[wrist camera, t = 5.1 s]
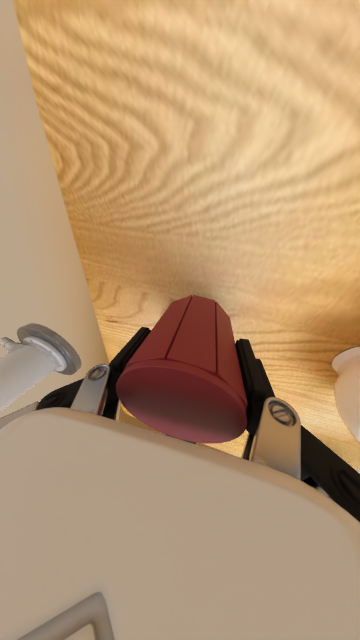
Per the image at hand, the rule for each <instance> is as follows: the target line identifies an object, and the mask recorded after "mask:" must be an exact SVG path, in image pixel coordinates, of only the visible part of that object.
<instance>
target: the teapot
mask: <svg viewBox="0 0 360 640" xmlns="http://www.w3.org/2000/svg"><path fill="white" fill-rule="evenodd" d="M332 368H333V370H334V371H335V372H336V373H337V374H338V378H337V381H336V384H335V388H334V397H335V403H336V407H337V410H338V413H339V415H340V417H341V419H342V421H343V423H344V424H345V426H346V427H347V429H348V430H349V432H350V433H351V434H352V435H353V437H354V438H355V439H356V440H357V441H358V442H359V444H360V347H355V348H352V349H349V350H346V351H344V352H342V353H340V354H339V355H337V356H336V357H335V358H334V360H333V361H332ZM357 471H358V472H359V473H360V469H357Z"/></svg>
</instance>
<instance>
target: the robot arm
mask: <svg viewBox="0 0 360 640" xmlns="http://www.w3.org/2000/svg"><path fill="white" fill-rule="evenodd" d="M150 332H151V330H149V328H146V327H141V328H140V330H139V331H138V332H137V333H136V334H135V335H134V336H133V337H132V339H131V340H130V341H129V342H128V343H127V344H126V345H125V346H124V348H123V349H122V350H121V351H120V352H119V353H118V354H117V355H116V357H115V358H114V359H113V360H112V361H111V363H110V364H109V365H107V364H100V365H97V366H95V367H93V368H92V369H90V370H89V371H88V373H87V374H86V376H85V378H83V379H81V380H79V381H76V382H74V383H71V384H69V385H66V386H64V387H62V388H59V389H57V390H54V391H52V392H51V393H49V394H48V395H46V396H45V397H44V398H43V399H42V400H41V401H40V402H38V401H37V402H35V403H33V404H31V405H28V406H26V407H24V408H22V409H20V410H17V411H15V412H13V413H11V414H9V415H7V416H4V417H2V418H0V640H360V474H359V473H358V472H357V471H356V470H355V469H353V468H352V467H351V466H350V465H349V464H347V463H346V462H345V461H344V460H343V459H341V458H340V457H339V456H338V455H337V454H335V453H334V452H333V451H332V450H331V449H329V448H328V447H327V446H326V445H325V444H323V443H322V442H321V441H320V440H319V439H317V438H316V437H315V436H314V435H313V434H311V433H310V432H309V431H308V430H307V429H305V428H304V427H303V426H302V425H301V422H300V418H299V416H298V414H297V412H296V411H295V410H294V408H293V407H291V406H290V405H289V404H288V403H287V402H285V401H284V400H281V399H279V398H276V397H275V395H274V392H273V390H272V387H271V385H270V382H269V380H268V377H267V375H266V372H265V370H264V367H263V365H262V362H261V360H260V359H255V356H254V353H253V350H252V348H251V345H250V342H249V340H248V339H239V340H237V341H236V344H235V346H236V351H237V355H238V360H239V365H240V370H241V375H242V379H243V384H244V389H245V394H246V399H247V403H248V405H247V409H246V415H247V426H246V430H247V431H248V435H247V438H246V442H245V445H244V449H243V453H242V456H241V458H239V457H236V456H233V455H229V454H226V453H223V452H219V451H216V450H213V449H210V448H206V447H203V446H200V445H196V444H193V443H190V442H187V441H183V440H180V439H177V438H173V437H170V436H166V435H163V434H160V433H156V432H153V431H150V430H146V429H143V428H140V427H136V426H133V425H129V424H126V423H123V422H119V421H118V419H119V412H120V406H121V401H120V400H119V398H118V395H117V392H116V384H117V380H118V379H119V377H120V375H121V374H122V373H123V371H124V369H125V367H126V365H127V363H128V362H129V360H130V359H131V358H132V356H133V355H134V353H135V352H136V351H137V349H138V348H139V347H140V345H141V344H142V343H143V341H144V340H145V339H146V337H147V336H148V335H149V333H150ZM0 345H2V346H4V347H7V349H6V350H7V351H8V352H9V354H8V355H6V356H4V357H2V358H0V412H1V411H2V410H3V409H5V408H6V407H7V406H8V405H10V404H11V403H13V402H14V401H15V400H16V399H18V398H19V397H20V396H22V395H23V394H24V393H25V392H27V391H28V390H29V389H30V388H32V387H33V386H34V385H36V384H37V383H38V382H40V381H41V380H42V379H43V378H45V377H46V376H47V375H49V374H50V373H51V372H53V371H63V370H64V369H65V368H66V367H67V362H66V360H65V358H64V357H63V355H62V354H61V353H60V352H59V351H58V350H57V349H56V348H55V347H53V346H52V345H51V344H49V343H48V342H46V341H45V340H43V339H40V338H38V337H34V336H29V337H27V338H25V339H23V343H15V342H14V341H12V340H11V339H9V338H6V337H5V338H2V339H0Z"/></svg>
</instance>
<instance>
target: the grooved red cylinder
mask: <svg viewBox="0 0 360 640" xmlns="http://www.w3.org/2000/svg"><path fill="white" fill-rule="evenodd" d="M116 392H117V395H118V398H119V400H120V401H121V403H122V404H123V406H124V407H125V408H126V409H127V410H128V411H129V412H130V413H131V414H132V415H133V416H135V417H136V418H137V419H138V420H140V421H141V422H143V423H144V424H146V425H148V426H149V427H151V428H153V429H155V430H157V431H159V432H162V433H164V434H167V435H169V436H172V437H175V438H178V439H182V440H186V441H191V442H198V443H222V442H227V441H231V440H233V439H236V438H237V437H239V436H240V435H241V434H243V432H244V431H245V429H246V426H247V415H246V409H247V405H248V403H247V399H246V394H245V389H244V384H243V379H242V375H241V370H240V365H239V360H238V355H237V351H236V346H235V341H234V336H233V331H232V327H231V322H230V318H229V316H228V315H227V314H226V312H225V311H224V310H223V309H222V308H221V306H220V305H219V304H218V303H217V302H215V300H211V299H207V298H203V297H199V296H196V295H193V297H192V295H190V296H188V297H185V298H182V299H180V300H177V301H174V302H173V303H171V305H170V306H169V307H168V309H167V310H166V312H165V313H164V314H163V316H162V317H161V318H160V320H159V321H158V322H157V324H156V325H155V326H154V328H153V329H152V330H151V332H150V333H149V335H148V336H147V337H146V339H145V340H144V341H143V343H142V344H141V345H140V347H139V348H138V349H137V351H136V352H135V353H134V355H133V356H132V358H131V359H130V360H129V362H128V363H127V365H126V367H125V369H124V371H123V373H122V374H121V375H120V377H119V379H118V380H117V384H116Z"/></svg>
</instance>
